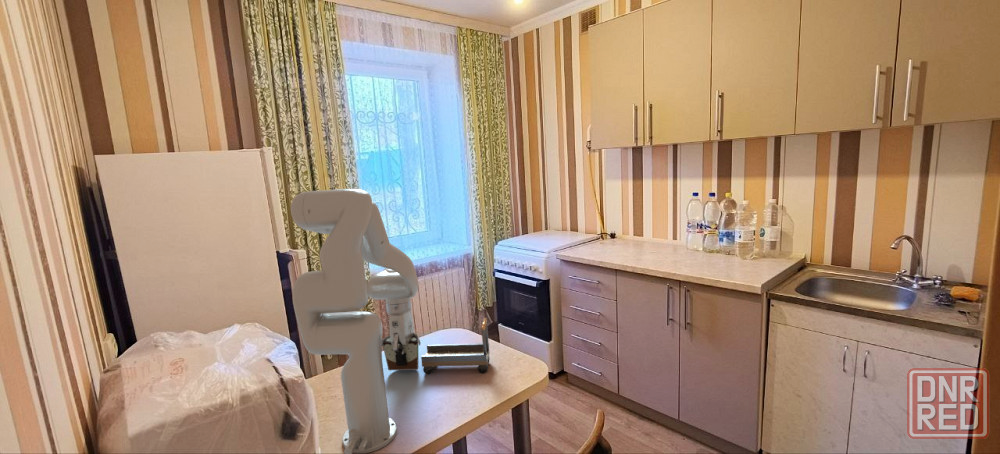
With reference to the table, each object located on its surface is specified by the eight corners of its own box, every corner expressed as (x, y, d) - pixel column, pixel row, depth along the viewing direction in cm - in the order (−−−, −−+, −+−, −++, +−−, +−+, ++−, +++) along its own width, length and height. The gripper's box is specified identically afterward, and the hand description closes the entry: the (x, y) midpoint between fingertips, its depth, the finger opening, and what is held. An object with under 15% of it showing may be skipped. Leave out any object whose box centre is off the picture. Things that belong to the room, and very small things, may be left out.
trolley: (488, 374, 128) (484, 327, 126) (423, 375, 130) (418, 329, 127) (490, 361, 136) (487, 317, 134) (429, 362, 138) (424, 319, 135)
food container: (427, 360, 137) (424, 330, 135) (422, 369, 131) (419, 339, 129) (390, 360, 138) (386, 332, 136) (383, 370, 132) (380, 340, 130)
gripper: (402, 316, 122) (408, 374, 125) (417, 296, 139) (422, 348, 142) (377, 316, 123) (383, 374, 126) (395, 297, 139) (401, 348, 142)
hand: (404, 360), depth 134 cm, fingers open, 5 cm apart
